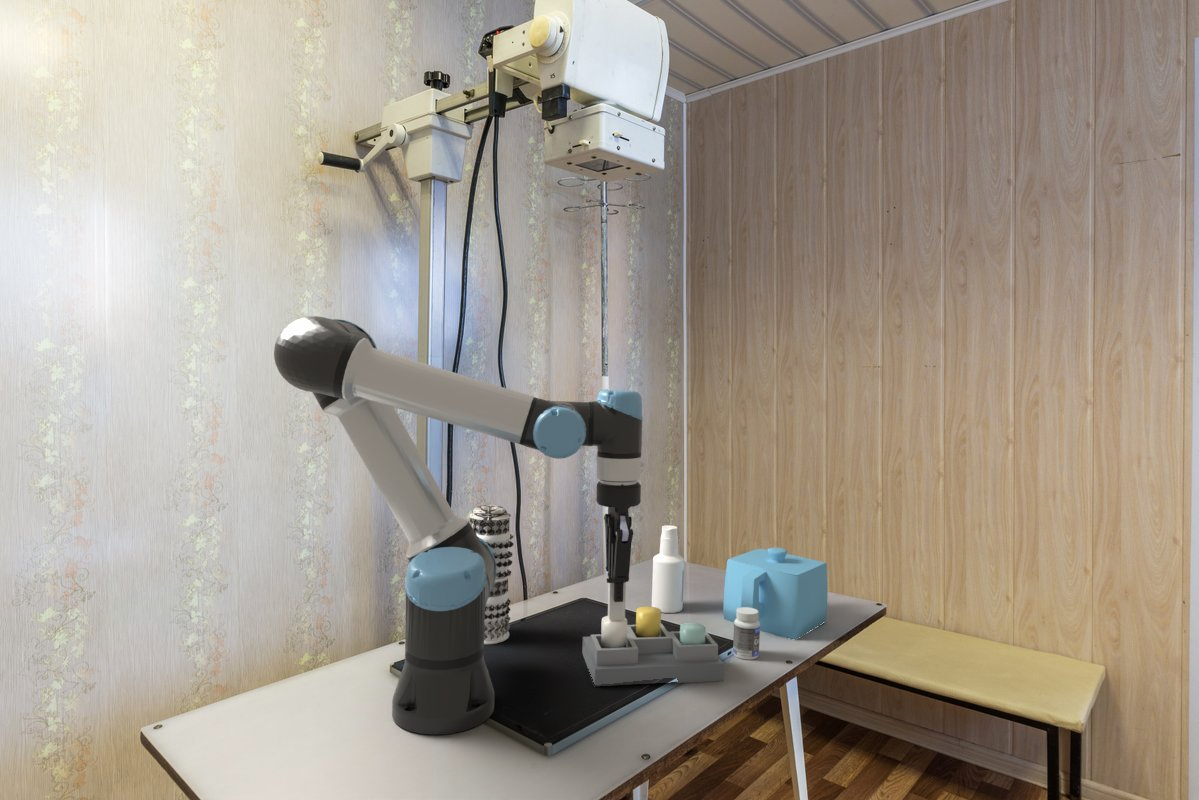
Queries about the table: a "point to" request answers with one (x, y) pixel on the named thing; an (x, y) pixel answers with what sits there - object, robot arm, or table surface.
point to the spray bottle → (668, 573)
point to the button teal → (692, 634)
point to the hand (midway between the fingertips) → (616, 617)
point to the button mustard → (648, 621)
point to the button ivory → (614, 632)
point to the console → (652, 659)
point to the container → (777, 590)
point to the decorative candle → (496, 533)
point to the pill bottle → (746, 633)
